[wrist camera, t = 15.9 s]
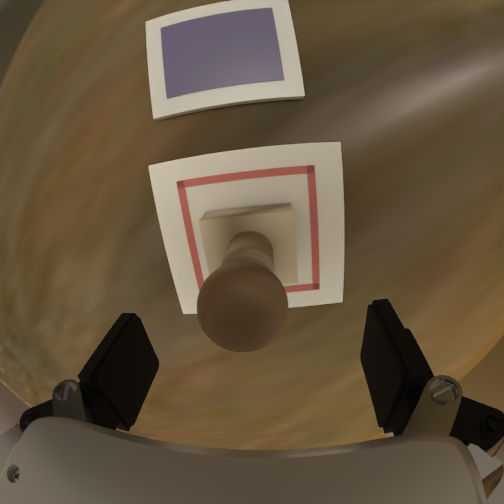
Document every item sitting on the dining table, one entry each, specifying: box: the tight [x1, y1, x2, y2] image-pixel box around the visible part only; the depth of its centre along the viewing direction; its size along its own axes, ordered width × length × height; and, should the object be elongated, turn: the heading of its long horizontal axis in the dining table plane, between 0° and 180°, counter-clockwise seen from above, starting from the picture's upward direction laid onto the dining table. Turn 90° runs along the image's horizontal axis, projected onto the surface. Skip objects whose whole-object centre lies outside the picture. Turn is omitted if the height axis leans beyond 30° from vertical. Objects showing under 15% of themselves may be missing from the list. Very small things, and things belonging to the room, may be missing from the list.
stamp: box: [197, 203, 298, 352], centre depth 16 cm, size 6×5×12 cm
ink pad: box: [146, 0, 305, 120], centre depth 16 cm, size 11×9×2 cm
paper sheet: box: [148, 142, 344, 314], centre depth 22 cm, size 15×14×1 cm
